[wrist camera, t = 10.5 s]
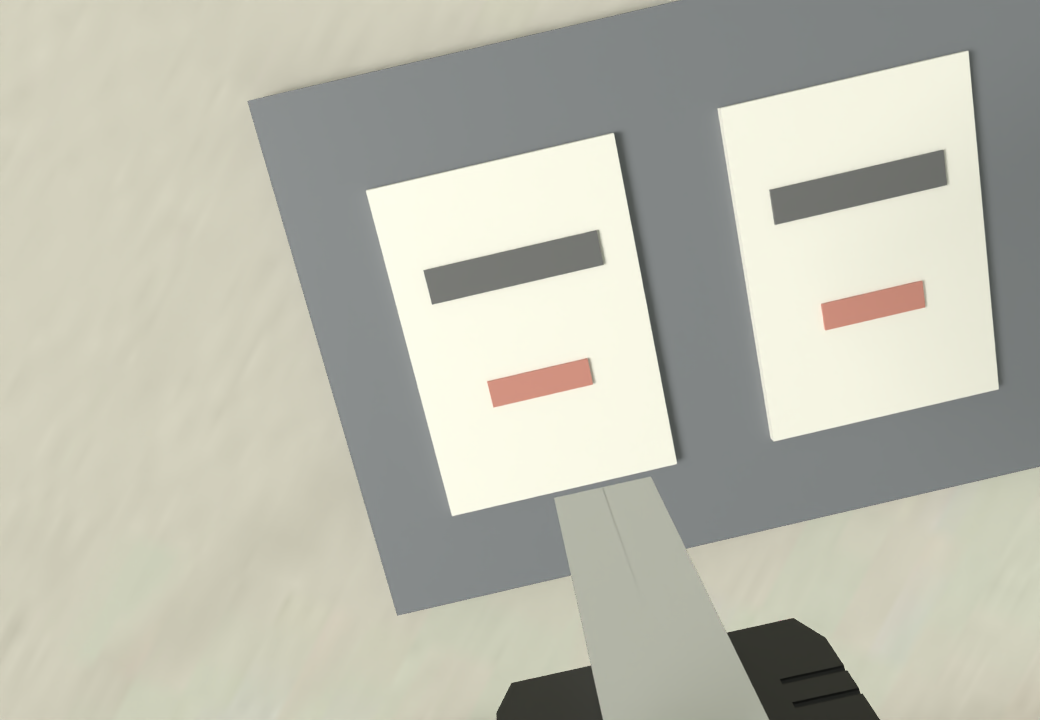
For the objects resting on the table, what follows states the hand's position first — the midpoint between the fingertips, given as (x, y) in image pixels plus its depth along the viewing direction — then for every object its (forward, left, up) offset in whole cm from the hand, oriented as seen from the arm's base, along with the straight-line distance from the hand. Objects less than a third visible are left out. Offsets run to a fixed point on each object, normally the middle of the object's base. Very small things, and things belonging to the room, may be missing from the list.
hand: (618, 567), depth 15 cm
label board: (+5, 0, -15) cm, 16 cm away
